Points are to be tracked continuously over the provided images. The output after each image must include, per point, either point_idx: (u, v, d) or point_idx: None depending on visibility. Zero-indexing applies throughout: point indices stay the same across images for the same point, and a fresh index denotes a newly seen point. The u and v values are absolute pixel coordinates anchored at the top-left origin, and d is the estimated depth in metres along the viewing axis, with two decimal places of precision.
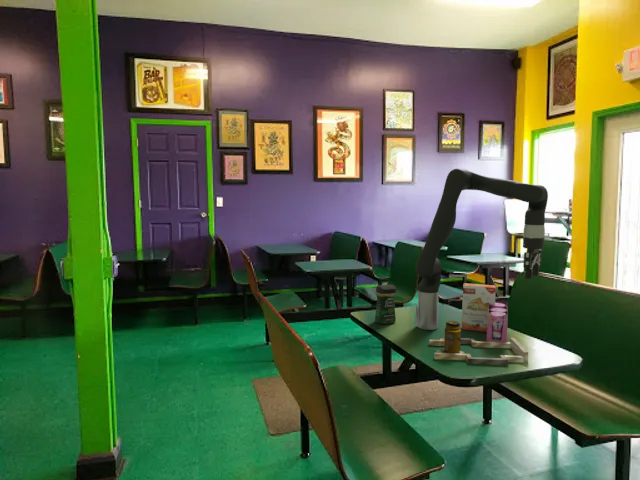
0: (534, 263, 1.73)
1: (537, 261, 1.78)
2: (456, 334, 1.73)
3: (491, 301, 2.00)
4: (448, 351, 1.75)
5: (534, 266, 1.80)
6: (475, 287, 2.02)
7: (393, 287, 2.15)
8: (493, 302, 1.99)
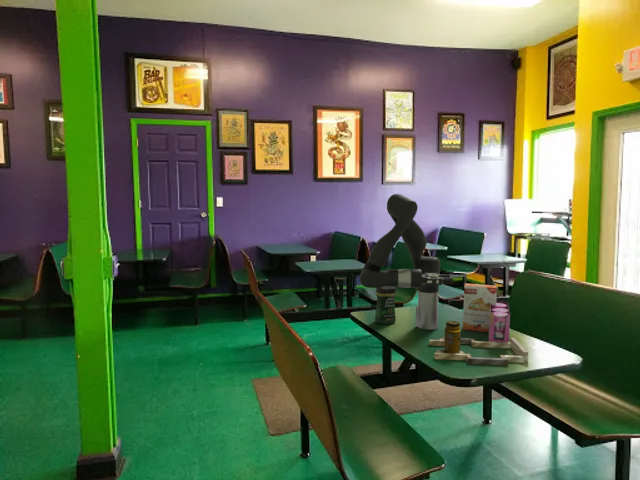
0: None
1: (436, 282, 1.78)
2: (456, 334, 1.73)
3: (492, 301, 1.99)
4: (448, 351, 1.75)
5: None
6: (476, 287, 2.01)
7: (393, 287, 2.15)
8: (494, 302, 1.99)
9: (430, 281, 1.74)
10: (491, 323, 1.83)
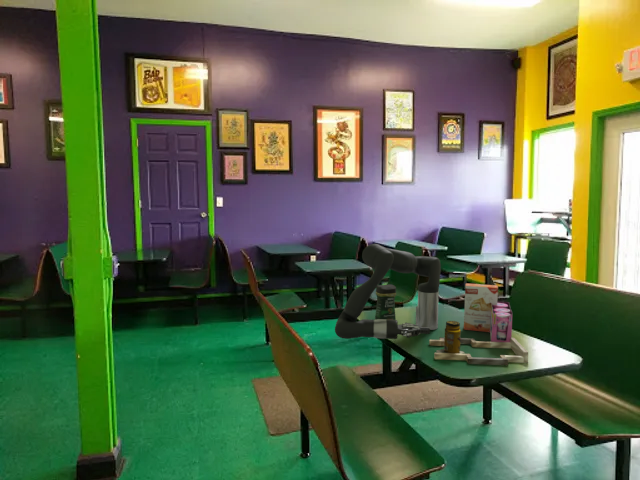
0: None
1: None
2: (456, 334, 1.73)
3: (493, 301, 1.99)
4: (448, 351, 1.75)
5: None
6: (477, 287, 2.01)
7: (393, 287, 2.15)
8: (495, 302, 1.99)
9: (410, 333, 1.72)
10: (494, 323, 1.83)
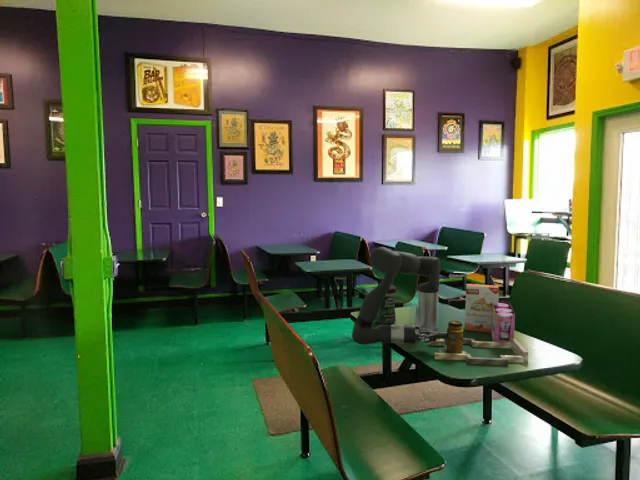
0: None
1: None
2: (458, 334, 1.73)
3: (494, 301, 1.99)
4: (450, 351, 1.74)
5: None
6: (478, 287, 2.01)
7: (393, 287, 2.15)
8: (497, 302, 1.99)
9: (428, 339, 1.71)
10: (496, 323, 1.83)
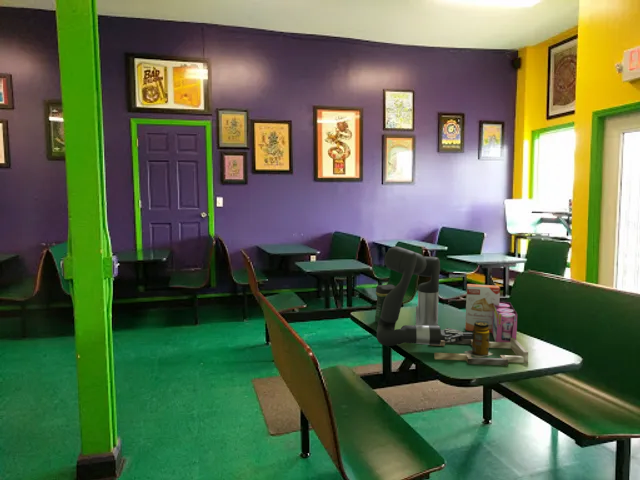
0: None
1: None
2: (484, 335, 1.71)
3: (495, 302, 1.99)
4: (476, 352, 1.73)
5: None
6: (479, 288, 2.00)
7: (393, 287, 2.15)
8: (498, 302, 1.99)
9: (454, 339, 1.70)
10: (499, 324, 1.82)
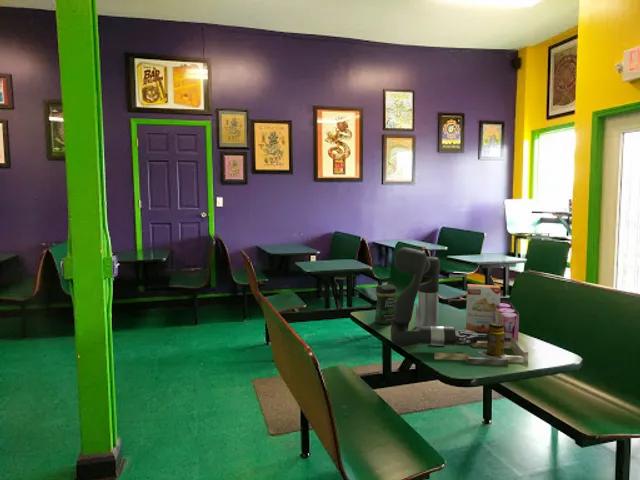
0: None
1: None
2: (499, 336, 1.70)
3: (496, 302, 1.99)
4: (490, 353, 1.72)
5: None
6: (480, 288, 2.00)
7: (393, 287, 2.15)
8: (498, 302, 1.99)
9: (469, 340, 1.69)
10: None
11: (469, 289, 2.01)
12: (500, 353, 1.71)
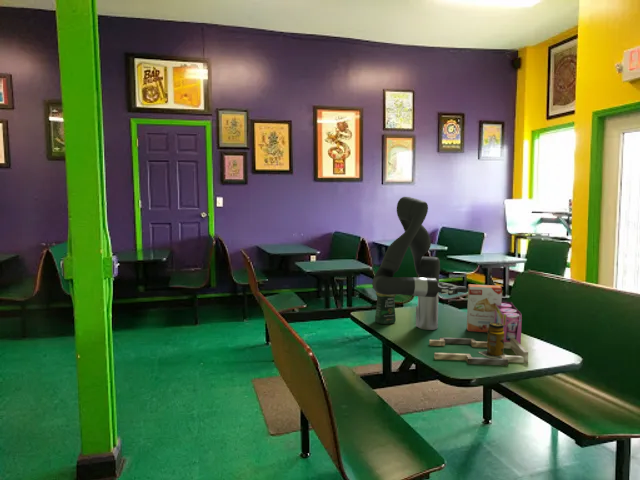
0: None
1: None
2: (499, 336, 1.70)
3: (497, 302, 1.98)
4: (490, 353, 1.72)
5: None
6: (482, 288, 1.99)
7: None
8: (500, 302, 1.98)
9: (452, 291, 1.71)
10: (503, 324, 1.82)
11: (470, 289, 2.01)
12: (500, 353, 1.71)
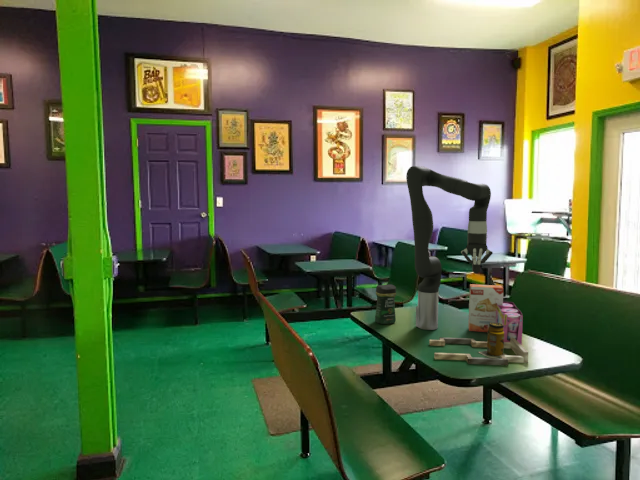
0: (475, 258, 1.86)
1: (478, 257, 1.86)
2: (499, 336, 1.70)
3: (499, 302, 1.98)
4: (490, 353, 1.72)
5: None
6: (483, 288, 1.99)
7: (393, 287, 2.15)
8: (501, 302, 1.98)
9: None
10: (504, 324, 1.82)
11: (472, 289, 2.01)
12: (500, 353, 1.71)
